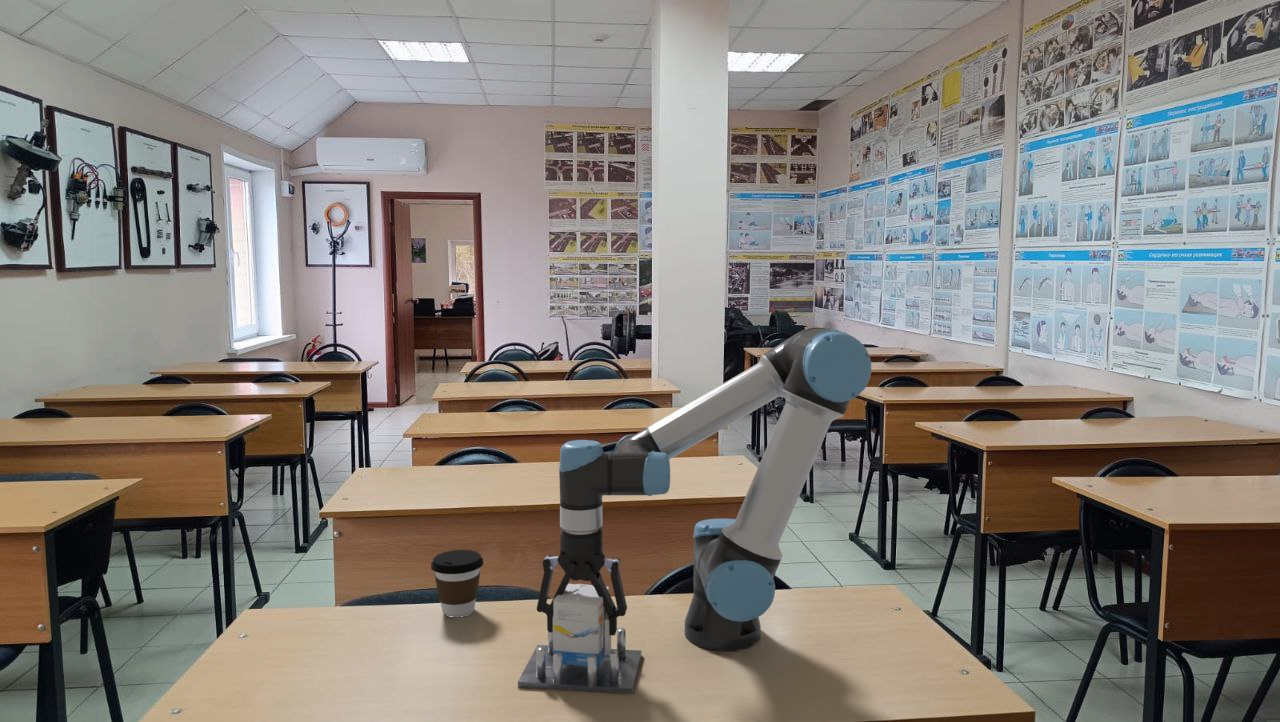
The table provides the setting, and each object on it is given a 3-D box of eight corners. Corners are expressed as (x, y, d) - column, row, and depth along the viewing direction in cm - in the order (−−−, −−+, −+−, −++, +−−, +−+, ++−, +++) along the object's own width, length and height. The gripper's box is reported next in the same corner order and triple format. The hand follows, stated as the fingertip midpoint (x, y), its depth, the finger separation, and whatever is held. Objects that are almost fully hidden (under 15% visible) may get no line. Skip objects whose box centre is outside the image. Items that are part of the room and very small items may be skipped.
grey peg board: (641, 654, 148) (641, 624, 147) (631, 695, 133) (631, 661, 133) (538, 648, 150) (537, 618, 150) (517, 688, 136) (516, 655, 135)
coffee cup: (467, 626, 160) (466, 569, 159) (421, 618, 164) (419, 563, 162) (494, 605, 170) (492, 551, 169) (450, 599, 174) (449, 546, 173)
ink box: (598, 668, 136) (598, 603, 135) (552, 664, 138) (551, 599, 137) (610, 646, 145) (610, 585, 144) (566, 642, 146) (565, 581, 145)
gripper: (643, 523, 142) (643, 643, 144) (527, 519, 144) (529, 637, 146) (638, 537, 134) (638, 663, 136) (516, 532, 137) (518, 656, 139)
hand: (582, 650), depth 141 cm, fingers closed on ink box, 9 cm apart
